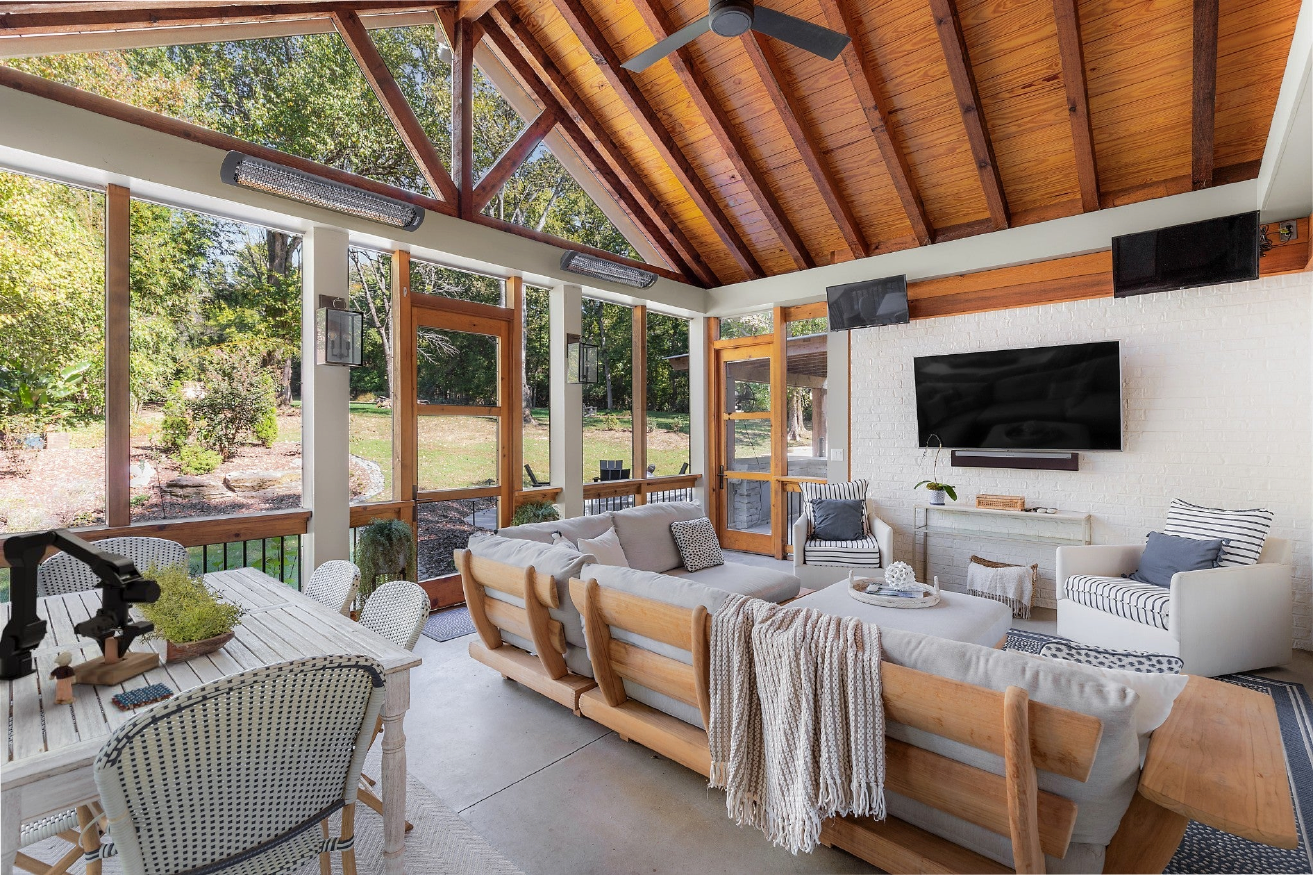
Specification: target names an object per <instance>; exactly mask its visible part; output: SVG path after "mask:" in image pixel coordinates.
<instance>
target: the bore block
mask: <svg viewBox="0 0 1313 875" xmlns="http://www.w3.org/2000/svg"><path fill="white" fill-rule="evenodd" d="M71 667H72V668H73V671H74V673H75V680H76V683H74V684H71V686H72V685H73V686H89V687H90V686H93V687H111V688H112V687H116V686H118V685H120V684H123V683H125V682H127V681H129V680H132V679H134V678H137V677H138V676H141V675H144V674H145V673H148V672H151V671H152V670H155V669H157V668H159V667H160V653H159V652H141V651H139V652H137V651H126V653H125V655H124V656H123V658H122V662H119V663H117V664H114V665H111V664H105V658H104V656H103V655H100V656H97V657H95V658H92V659H90V660H87V661H85V662H81V663H79V664H76V665H73V666H71Z"/></svg>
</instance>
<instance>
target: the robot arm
mask: <svg viewBox="0 0 1313 875" xmlns="http://www.w3.org/2000/svg"><path fill="white" fill-rule="evenodd" d="M49 546H52V547H55V549H58V550H60V551H61V552H63V553H66V554H67V555H68V556H71V557H73V558H74V559H76V560H77V561H80V562H82V563H84V564H85V565H87V566H89V567H90V570H91V572H92V573H93V575H95V576H96V577H97V578H99V579H100V581H99V582H98V583H96V584H94V585H93V588H94V589H102V590H101V607H100V608H97V610H96V614H95V615H94V616H93V617H91V618H88V619H87V620H83V621H81V622H78V623H77V624H75V626H74V628H73V635H81V637H82V638H89V639H92V640H95V642H96V644H97V645H98V647H99V650H100V652H101V653H102V656H104V658H105V640H106V639H107V638H110V637H113V638H114V639H115V640H117V642H118V658H119V659H120V658H123V656H124V655H125V653H126V652H128V650H129V648H130V646H131V644H132V643H133V641H134V640H135V639H136V638H137V637H140V636H143V635H146V634H148V633H152V632H155V622H153V621H150V620H138V621H136V622H133V617H129V615H130V614H129V612H130V610H129V609H132V608H134V604H148V605H149V604H155V603H156V602H157V601H158V600H159V598H160V597H161V594H162V588H161V586H160V584H158V583H156V581H157V579H156V578H150V579H145V577H144V576H143V574H142V573H141V571H140V570H139V569H138V567H136V565H135V561H134V560H133V559H132V558H130V557H128V556H125V555H122V554H119V553H112V552H109V551H106V550H103V549H101V548H99V547H98V546H95V545H94V544H92V543H90V542H88V541H86V540H84V539H82V538H81V537H80V536H77V535H75V534H74V533H72V532H71V531H70V530H69V529H66V528H58V529H51V530H47V531H46V532H41V533H40V532H31V533H24V534H19V535H14V536H13V535H11V536H10V537H7V539H6V540H4V541H3V544H2V550H3V557H4V560H5V561H6V562H7V563H8V565H10V566H11V594H10V595H11V598H10V619H9V620H8V622H7V623H6V625H5V626H4V628H3V629H2V632H1V637H0V680H9V681H11V680H15V679H19V678H22V677H24V676H27V675H29V674H32V673H35V672H37V671H38V669H37V668H33V656H32V655H33V654H32V651H33V650H35V649H38V648H39V646H40V644H41V642H42V641H43V640H44V639H45V637H46V634H49V633H48V630H47V625H48V621H47V619H41V618H40V617H39V616H38V612H37V610H38V608H37V605H38V604H37V602H38V574H39V573H38V572H39V571H38V569H39V568H38V566H39V563H40V562H41V560H42V559H43V558H44V557H45V555H46V553H47V552H46V551H47V547H49ZM129 623H131V624H129ZM116 632H120V633H119V635H115V634H116ZM115 636H116V637H115Z"/></svg>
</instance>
